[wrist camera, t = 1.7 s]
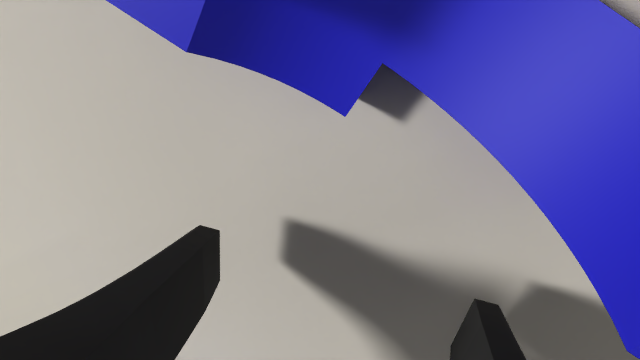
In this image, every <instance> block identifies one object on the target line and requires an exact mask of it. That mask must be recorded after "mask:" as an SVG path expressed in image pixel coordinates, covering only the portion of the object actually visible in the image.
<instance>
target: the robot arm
mask: <svg viewBox="0 0 640 360" xmlns="http://www.w3.org/2000/svg"><path fill="white" fill-rule="evenodd" d="M219 281H220V230H216V229H212V228H208V227H205V226H201V225H199V226H198V227H196V228H195V229H193V230H192V231H190V232H189V233H187V234H186V235H184V236H183V237H181V238H180V239H178V240H177V241H176V242H174V243H173V244H171V245H170V246H168V247H167V248H165V249H164V250H162V251H161V252H159V253H158V254H156V255H155V256H153V257H152V258H150V259H149V260H147V261H146V262H144V263H143V264H141V265H140V266H138V267H136V268H135V269H133V270H132V271H130V272H128V273H127V274H125V275H123V276H122V277H120V278H118V279H117V280H115V281H113V282H112V283H110V284H108V285H107V286H105V287H103V288H102V289H100V290H98V291H96V292H94V293H93V294H91V295H89V296H87V297H85V298H83V299H81V300H80V301H78V302H76V303H74V304H72V305H70V306H68V307H66V308H64V309H62V310H60V311H58V312H56V313H53V314H51V315H49V316H47V317H45V318H42V319H40V320H38V321H36V322H33V323H31V324H29V325H26V326H24V327H22V328H19V329H17V330H15V331H13V332H10V333H8V334H5V335H3V336H1V337H0V360H175V358H176V357H177V355H178V354H179V352H180V350H181V349H182V347H183V346H184V344H185V343H186V341H187V339H188V338H189V336H190V335H191V333H192V332H193V330H194V328H195V327H196V325H197V324H198V322H199V320H200V319H201V317H202V316H203V314H204V312H205V310H206V308H207V306H208V304H209V302H210V300H211V298H212V296H213V294H214V292H215V290H216V288H217V285H218V283H219ZM450 360H526V358H525V356H524V354H523V352H522V351H521V349H520V347H519V345H518V343H517V341H516V339H515V337H514V335H513V333H512V331H511V329H510V327H509V325H508V323H507V321H506V319H505V317H504V315H503V313H502V311H501V309H500V307H499V306H498V305H496V304H492V303H489V302H485V301H481V300H477V299H474V301H473V303H472V305H471V307H470V309H469V311H468V313H467V315H466V317H465V319H464V321H463V323H462V325H461V327H460V329H459V331H458V333H457V335H456V337H455V339H454V341H453V343H452V345H451V352H450Z"/></svg>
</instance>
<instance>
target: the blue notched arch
mask: <svg viewBox="0 0 640 360" xmlns="http://www.w3.org/2000/svg"><path fill="white" fill-rule="evenodd" d="M106 1H108V2H110V3H111V4H113V5H114V6H116V7H117V8H119V9H120V10H122V11H123V12H125V13H127V14H128V15H130V16H131V17H133V18H134V19H136V20H137V21H139V22H140V23H142V24H144V25H145V26H147V27H148V28H150V29H151V30H153V31H154V32H156V33H158V34H159V35H161V36H162V37H164V38H165V39H167V40H168V41H170V42H171V43H173V44H175V45H176V46H178V47H179V48H181V49H182V50H184V51H185V52H188V53H193V54H197V55H202V56H206V57H210V58H215V59H218V60H222V61H225V62H228V63H232V64H235V65H239V66H241V67H244V68H247V69H250V70H253V71H256V72H258V73H261V74H263V75H266V76H268V77H271V78H273V79H276V80H278V81H280V82H283V83H285V84H287V85H289V86H291V87H293V88H295V89H297V90H300V91H301V92H303V93H305V94H307V95H309V96H311V97H313V98H315V99H317V100H318V101H320V102H322V103H323V104H325V105H327V106H329V107H330V108H332V109H334V110H335V111H337V112H338V113H340V114H342V115H343V116H346V115H347V114H348V112H349V111H350V109H351V108H352V106H353V105H354V103H355V102H356V101H357V99H358V98H359V96H360V95H361V93H362V92H363V90H364V89H365V88H366V86H367V85H368V83H369V82H370V80H371V79H372V77H373V76H374V75H375V73H376V72H377V70H378V69H379V67H380V66H381V65H382V63H383V64H384V65H386V66H387V67H389V68H390V69H392V70H393V71H394V72H396V73H397V74H399V75H400V76H401V77H403V78H404V79H405V80H407V81H408V82H410V83H411V84H412V85H414V86H415V87H416V88H417V89H419V90H420V91H421V92H423V93H424V94H425V95H426V96H428V97H429V98H430V99H431V100H433V101H434V102H435V103H436V104H437V105H439V106H440V107H441V108H442V109H443V110H445V111H446V112H447V113H448V114H449V115H450V116H452V117H453V118H454V119H455V120H456V121H457V122H458V123H459V124H461V125H462V126H463V127H464V128H465V129H466V130H467V131H468V132H469V133H470V134H471V135H472V136H474V137H475V138H476V139H477V140H478V141H479V142H480V143H481V144H482V145H483V146H484V147H485V148H486V149H487V150H488V151H489V152H490V153H491V154H492V155H493V156H494V157H495V158H496V159H497V160H498V161H499V162H500V163H501V164H502V166H503V167H504V168H505V169H506V170H507V171H508V172H509V173H510V174H511V175H512V176H513V177H514V179H515V180H516V181H517V182H518V183H519V184H520V185H521V187H522V188H523V189H524V190H525V191H526V192H527V194H528V195H529V196H530V197H531V198H532V199H533V201H534V202H535V203H536V204H537V206H538V207H539V208H540V209H541V211H542V212H543V213H544V214H545V216H546V217H547V218H548V220H549V221H550V222H551V224H552V225H553V226H554V228H555V229H556V230H557V232H558V233H559V234H560V236H561V237H562V239H563V240H564V241H565V243H566V244H567V246H568V247H569V249H570V250H571V252H572V253H573V255H574V256H575V258H576V259H577V261H578V262H579V264H580V265H581V267H582V268H583V270H584V271H585V273H586V275H587V276H588V278H589V280H590V281H591V283H592V285H593V286H594V288H595V290H596V291H597V293H598V295H599V297H600V298H601V300H602V302H603V304H604V306H605V308H606V309H607V311H608V313H609V315H610V317H611V319H612V321H613V323H614V325H615V327H616V329H617V331H618V333H619V335H620V337H621V339H622V341H623V344H624V346H625V348H626V350H627V351H628V352H629V353H631V354H632V355H634V356H635V357H637V358H638V359H640V28H638V27H637V26H635V25H634V24H633V23H631V22H630V21H628V20H627V19H625V18H624V17H622V16H621V15H619V14H618V13H616V12H615V11H614V10H612V9H611V8H609V7H608V6H606V5H605V4H603V3H602V2H601V1H599V0H106Z"/></svg>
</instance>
